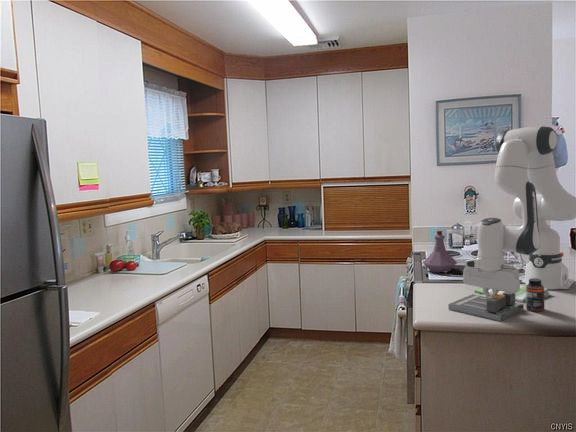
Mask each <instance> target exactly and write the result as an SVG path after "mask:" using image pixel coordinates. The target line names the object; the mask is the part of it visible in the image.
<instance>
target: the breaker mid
mask: <svg viewBox="0 0 576 432" xmlns="http://www.w3.org/2000/svg"><path fill="white" fill-rule="evenodd" d="M492 298H498V299H500V301H501V308H502V307H504V306H506V297H505V295H502V294H496V295H494V296H493V297H492Z"/></svg>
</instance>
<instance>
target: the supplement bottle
mask: <svg viewBox="0 0 576 432" xmlns="http://www.w3.org/2000/svg"><path fill="white" fill-rule="evenodd" d="M525 286H526V303H525V308H526V310H527V311H529V312H535V313H536V312H537V313H539V312H543V311H545V297H544V286H543V285H541V279H537V278H531V279H529V284H528V285H525Z"/></svg>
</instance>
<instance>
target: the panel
mask: <svg viewBox="0 0 576 432" xmlns="http://www.w3.org/2000/svg"><path fill="white" fill-rule="evenodd" d="M524 304H525V303H520V302H515V303H514V304H512V305H506V306H504V307H502V308H501V310H499V311H497V312H495V313H494V312H490V311H487V300H486V296H485V295H484V296H483V295H479V294H473V293H472V294H470V295H468V296H465V297H462V298H460V299H458V300H455V301H452V302H450V303H448V304H447V305H448V307H447V308H448V310H449V311H454V312H459V313H463V314H466V315H472V316H476V317H480V318H484V319H488V320H493V321H498V322H502V321H504V320H506V319H508V318H510V317H512V316H514V315H516V314H518V313H520V312H522V311H524V306H525V305H524Z"/></svg>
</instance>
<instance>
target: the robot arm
mask: <svg viewBox="0 0 576 432" xmlns="http://www.w3.org/2000/svg"><path fill="white" fill-rule="evenodd" d="M494 144H495V150H496V152H497V153H498V154H497V158H496V162H495V169H494V182H495V184H496V186H497V187H498V188H499V189H500V190H502V191H503V192H505V193H508V194H509V195H512V196H514V197H516V198H515V199H514V201H513V202H512V203H513V204H512V208H513V209H512V210H513V212H514V214H515V215H516V217H518V218H519V219H520V220H521V221H522V225H520V226H519V225H508V224H504V223H503V222H502V219H500V218H498V217H487V218H484V219H483V218H482V220H480V221H479V223H478V228H477V235H476V237H477V238H476V239H477V242H476V243H477V244H476V245H477V246H478V247H477V249H478V250H477V257H473V258H470V259H467V260H465V261H464V269H463V271H462V273H463V274H462V281H463V283H464V285H466V286H472V287H477V288H479V287H482V288H483V292H484V294H485V295H484V294H483V295H484V296H485V297H486V300H488V299H490V298H492V297H493V296H494V295H496V294H497V293H498V292H499V291H504V292H509V293H516V292H518V291H519V290H520V286H521V283H523V284H525V286H527V285H528V284H529V279H531V278H537V279H541V285H543V286H544V288H548V290H569V289H570V288H571V287H572V286H573V284H574V283H575V279H574V278H572V277H569V268H568V267H567V266H566V265H565V264H564V263H563V262H562V261H563V257H564V255H565V254H564V252H563V251H560V250H561V236H560V234H559V232H558V231H557V230H555V229H553V228H552V227H550V226H549V225H548V223H547V221H553V222H565V221H566V222H567V221H571V220H573V221H574V220H575V219H576V196H575V195H573V194H571V193H569V192H568V191H567V190H566V189H565V188H564V187H563V186H562V184H561V182H560V181H559V179H558V174H557V171H556V164H555V163H556V162H555V157H554V154H553V151H555V149H556V147H557V145H558V135H557V132H556V131H555V129H554V128H553V127H551V126H526V127H521V128H519V127H518V128H514V129H505V130H503V131H501V132H499V133H498V135H496V138H495V143H494ZM536 191H537V192H538V193H537V192H536ZM504 252H509V253H517V254H520V255H525V256H528V260H529V262H527V263H526V264H525V273H524V278H523V279H521V283H520V270H519V269H518V268H517V267H515V266H512V265H511V266H510V265H505V257H504V256H505V254H504ZM489 289H492V292H494V293H493V295H490V294H489V291H488V290H489Z"/></svg>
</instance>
